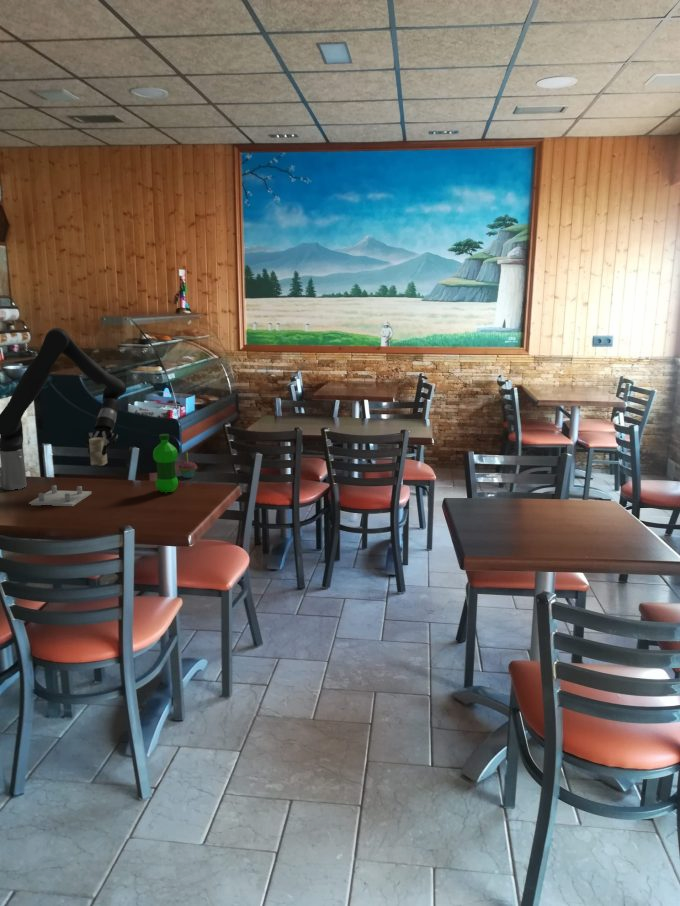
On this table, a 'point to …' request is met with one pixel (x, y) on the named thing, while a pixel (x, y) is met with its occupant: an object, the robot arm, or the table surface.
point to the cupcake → (187, 468)
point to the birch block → (97, 451)
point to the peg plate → (60, 497)
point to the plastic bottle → (165, 465)
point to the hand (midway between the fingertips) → (96, 454)
